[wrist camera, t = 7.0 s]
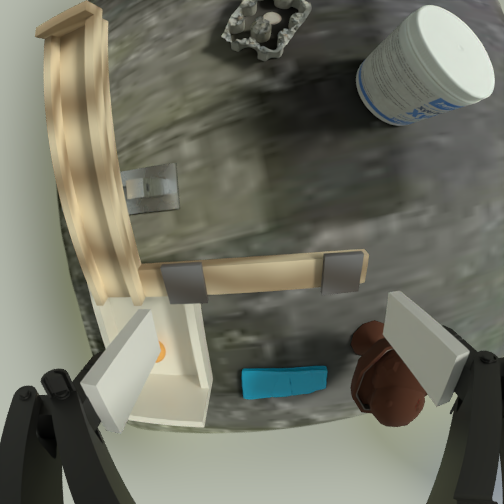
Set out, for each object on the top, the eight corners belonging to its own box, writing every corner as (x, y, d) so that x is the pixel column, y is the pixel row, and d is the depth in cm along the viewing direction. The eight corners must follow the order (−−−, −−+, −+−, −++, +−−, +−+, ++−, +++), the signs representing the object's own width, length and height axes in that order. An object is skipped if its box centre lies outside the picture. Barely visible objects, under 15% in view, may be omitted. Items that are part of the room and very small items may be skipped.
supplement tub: (389, 141, 27) (472, 121, 13) (337, 79, 26) (392, 17, 12) (430, 104, 26) (506, 78, 12) (384, 47, 24) (444, -5, 10)
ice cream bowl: (378, 375, 35) (419, 445, 20) (317, 360, 34) (346, 445, 19) (416, 315, 33) (478, 373, 18) (355, 291, 32) (416, 359, 17)
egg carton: (260, -6, 23) (261, -23, 19) (312, 16, 24) (319, -1, 20) (217, 46, 25) (212, 29, 21) (274, 69, 26) (277, 54, 22)
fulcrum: (93, 178, 28) (53, 178, 21) (176, 163, 28) (151, 156, 20) (97, 218, 29) (58, 229, 22) (180, 208, 29) (156, 215, 22)
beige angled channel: (61, 34, 13) (36, 27, 10) (359, -7, 13) (379, -23, 9) (107, 294, 26) (93, 318, 23) (359, 279, 26) (373, 304, 22)
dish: (98, 267, 31) (56, 293, 22) (194, 262, 31) (173, 292, 22) (128, 374, 35) (104, 415, 26) (212, 378, 35) (204, 427, 26)
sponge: (323, 398, 35) (331, 371, 33) (241, 400, 35) (240, 373, 33) (322, 391, 36) (329, 363, 34) (241, 393, 36) (241, 366, 34)
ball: (146, 337, 33) (137, 341, 30) (167, 338, 33) (159, 341, 30) (149, 359, 32) (140, 364, 30) (169, 360, 32) (162, 365, 29)
